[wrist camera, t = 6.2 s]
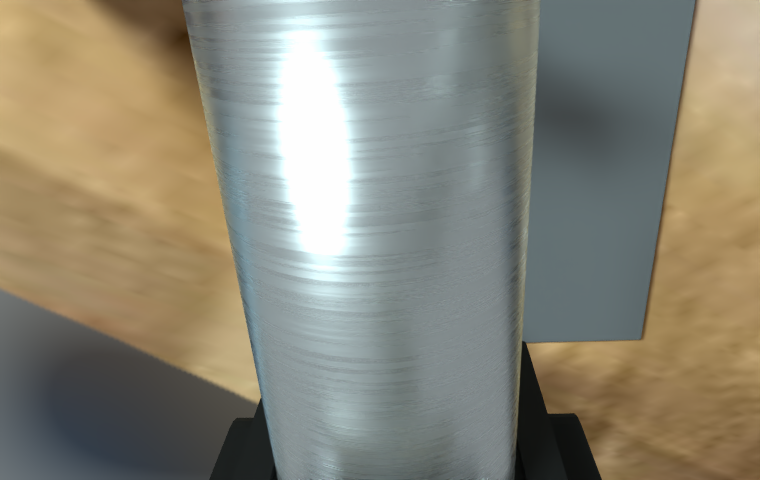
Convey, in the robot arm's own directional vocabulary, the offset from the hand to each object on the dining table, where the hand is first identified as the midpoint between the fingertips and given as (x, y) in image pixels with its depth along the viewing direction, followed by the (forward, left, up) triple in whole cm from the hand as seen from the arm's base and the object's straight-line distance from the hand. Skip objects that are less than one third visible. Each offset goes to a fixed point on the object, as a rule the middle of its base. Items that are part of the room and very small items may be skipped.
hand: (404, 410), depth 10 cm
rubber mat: (-10, 0, -24) cm, 26 cm away
